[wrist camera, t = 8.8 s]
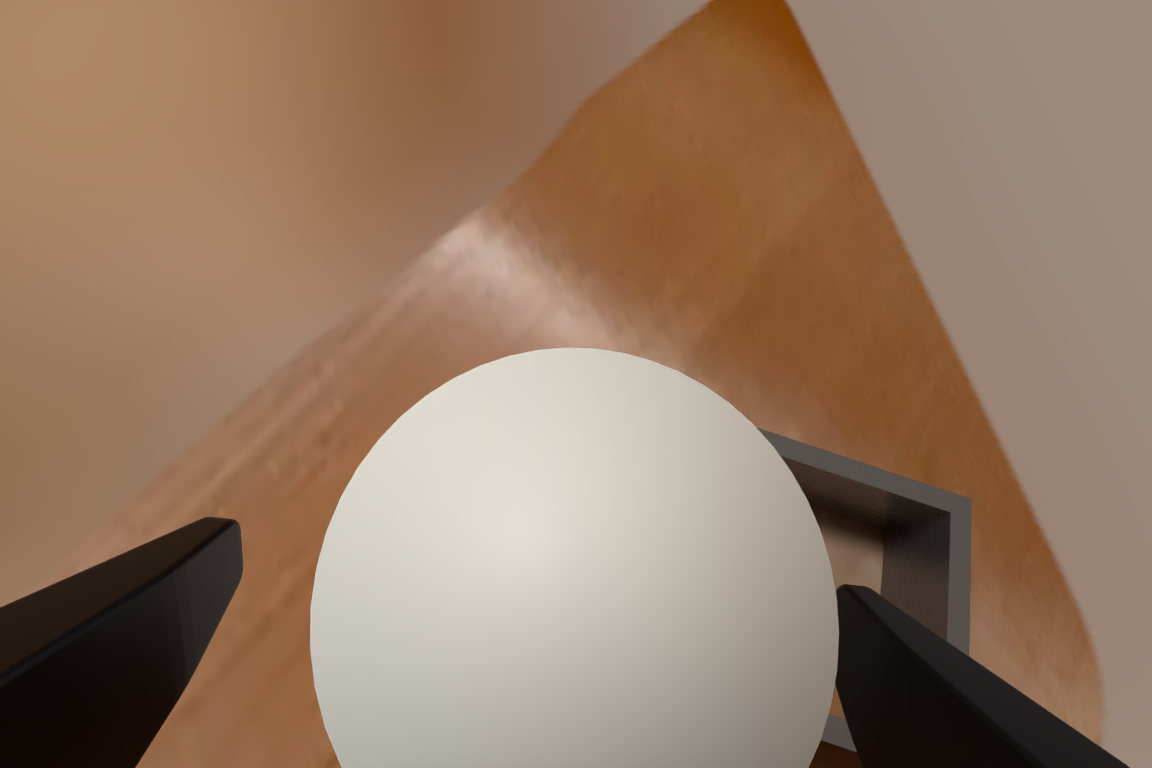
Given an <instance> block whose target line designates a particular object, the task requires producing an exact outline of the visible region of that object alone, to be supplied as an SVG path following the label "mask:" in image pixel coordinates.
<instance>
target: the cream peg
mask: <svg viewBox="0 0 1152 768" xmlns="http://www.w3.org/2000/svg"><path fill="white" fill-rule="evenodd" d="M838 644H839V624H838V609H837V596H836V591H835V585H834V580H833V574H832V569H831V564H830V560H829V557H828V553H827V550H826V547H825V543H824V540H823V537H822V534H821V530H820V528H819V526H818V523H817V521H816V519H815V516H814V514H813V512H812V509H811V507H810V505H809V502H808V500H807V498H806V496H805V495H804V493H803V491H802V489H801V488H800V486H799V484H798V482H797V481H796V479H795V477H794V475H793V473H792V472H791V470H790V469H789V468H788V466H787V465H786V463H785V462H784V461H783V459H782V458H781V457H780V455H779V454H778V452H777V451H776V450H775V448H774V447H773V446H772V444H771V443H770V442H769V441H768V440H767V439H766V438H765V437H764V436H763V435H762V433H761V432H760V431H759V430H758V429H757V428H756V427H755V426H754V425H753V423H751V422H750V421H749V420H748V419H747V418H746V417H745V416H744V415H742V414H741V413H740V412H739V411H738V410H737V409H736V408H734V407H733V406H732V405H731V404H730V403H729V402H727V401H726V400H724V399H723V398H722V397H720V396H719V395H717V394H716V393H714V392H713V391H712V390H710V389H709V388H707V387H706V386H704V385H702V384H701V383H699V382H697V381H695V380H693V379H691V378H690V377H688V376H686V375H684V374H682V373H680V372H678V371H676V370H673V369H671V368H669V367H666V366H664V365H661V364H659V363H656V362H654V361H651V360H647V359H644V358H640V357H636V356H633V355H629V354H626V353H620V352H614V351H607V350H601V349H590V348H557V349H545V350H536V351H531V352H526V353H521V354H516V355H511V356H507V357H504V358H501V359H498V360H495V361H492V362H490V363H487V364H484V365H481V366H478V367H476V368H474V369H472V370H470V371H468V372H466V373H464V374H462V375H459V376H457V377H455V378H453V379H451V380H450V381H448V382H447V383H445V384H444V385H442V386H440V387H439V388H437V389H436V390H434V391H433V392H431V393H429V394H428V395H426V396H425V397H424V398H423V399H421V400H420V401H419V402H418V403H416V404H415V405H414V406H413V407H412V408H410V409H409V410H408V411H407V412H405V413H404V414H403V415H402V416H401V417H400V418H399V419H398V420H397V421H396V422H395V423H394V424H393V425H392V426H391V427H390V428H389V429H388V430H387V431H386V432H385V434H384V435H383V436H382V437H381V438H380V439H379V440H378V441H377V442H376V444H375V445H374V446H373V448H372V449H371V450H370V452H369V453H368V455H367V456H366V457H365V459H364V460H363V461H362V463H361V464H360V465H359V467H358V468H357V470H356V472H355V473H354V475H353V477H352V479H351V480H350V482H349V484H348V486H347V487H346V489H345V491H344V493H343V495H342V496H341V498H340V500H339V503H338V505H337V508H336V510H335V512H334V515H333V517H332V520H331V522H330V524H329V527H328V529H327V532H326V535H325V539H324V542H323V546H322V549H321V553H320V557H319V560H318V564H317V568H316V574H315V581H314V588H313V595H312V601H311V621H310V650H311V659H312V667H313V676H314V685H315V690H316V694H317V698H318V702H319V706H320V710H321V714H322V718H323V722H324V725H325V729H326V731H327V734H328V736H329V739H330V741H331V743H332V746H333V748H334V751H335V753H336V756H337V758H338V761H339V763H340V765H341V768H809V766H810V763H811V761H812V759H813V757H814V754H815V752H816V750H817V748H818V746H819V743H820V741H821V737H822V734H823V731H824V727H825V724H826V721H827V717H828V714H829V711H830V708H831V703H832V697H833V691H834V685H835V680H836V674H837V665H838Z"/></svg>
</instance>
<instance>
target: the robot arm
mask: <svg viewBox="0 0 1152 768" xmlns="http://www.w3.org/2000/svg"><path fill="white" fill-rule="evenodd" d="M242 572H243V556H242V542H241V530H240V525H239V523H238V522H237V521H235V520H234V519H227V518H217V517H205V518H202V519H200V520H198V521H195V522H193V523H191V524H189V525H186V526H184V527H182V528H179V529H177V530H175V531H173V532H170V533H168V534H166V535H164V536H161V537H159V538H157V539H155V540H152V541H150V542H148V543H145V544H143V545H141V546H139V547H136V548H134V549H132V550H130V551H127V552H125V553H123V554H121V555H118V556H116V557H114V558H111V559H109V560H107V561H105V562H102V563H100V564H98V565H96V566H93V567H91V568H89V569H87V570H84V571H82V572H80V573H77V574H75V575H73V576H71V577H68V578H66V579H64V580H62V581H59V582H57V583H55V584H53V585H50V586H48V587H46V588H43V589H41V590H39V591H37V592H34V593H32V594H30V595H28V596H25V597H23V598H21V599H18V600H16V601H14V602H12V603H9V604H7V605H5V606H3V607H0V768H135V767H136V766H137V764H138V763H139V761H140V759H141V758H142V756H143V755H144V753H145V752H146V750H147V748H148V747H149V745H150V744H151V742H152V741H153V739H154V737H155V736H156V734H157V733H158V731H159V730H160V728H161V726H162V725H163V723H164V722H165V720H166V719H167V717H168V715H169V714H170V712H171V711H172V709H173V708H174V706H175V704H176V703H177V701H178V700H179V698H180V696H181V695H182V693H183V691H184V690H185V688H186V686H187V685H188V683H189V681H190V679H191V677H192V676H193V674H194V672H195V670H196V668H197V666H198V664H199V662H200V660H201V658H202V656H203V654H204V652H205V650H206V648H207V646H208V644H209V642H210V640H211V638H212V636H213V634H214V632H215V630H216V628H217V627H218V625H219V623H220V621H221V619H222V617H223V615H224V613H225V611H226V609H227V607H228V605H229V603H230V601H231V599H232V597H233V595H234V593H235V591H236V589H237V587H238V585H239V582H240V580H241V577H242ZM836 596H837V609H838V624H839V644H838V665H837V674H836V680H835V684H836V688H837V691H838V694H839V698H840V701H841V705H842V708H843V711H844V715H845V718H846V722H847V725H848V728H849V731H850V734H851V737H852V740H853V743H854V745H855V748H856V751H857V753H858V756H859V759H860V761H861V764H862V766H863V768H1129V767H1128V766H1127V765H1126V764H1124V763H1123V762H1122V761H1120V760H1119V759H1117V758H1115V757H1114V756H1113V755H1111V754H1110V753H1108V752H1107V751H1105V750H1104V749H1103V748H1101V747H1100V746H1098V745H1097V744H1095V743H1094V742H1092V741H1091V740H1090V739H1088V738H1087V737H1085V736H1084V735H1082V734H1081V733H1079V732H1078V731H1076V730H1075V729H1074V728H1072V727H1071V726H1069V725H1068V724H1066V723H1065V722H1063V721H1062V720H1061V719H1059V718H1058V717H1056V716H1055V715H1053V714H1052V713H1050V712H1049V711H1047V710H1046V709H1045V708H1043V707H1042V706H1040V705H1039V704H1037V703H1036V702H1034V701H1033V700H1031V699H1030V698H1029V697H1027V696H1026V695H1024V694H1023V693H1021V692H1020V691H1018V690H1017V689H1016V688H1014V687H1013V686H1011V685H1010V684H1008V683H1007V682H1005V681H1004V680H1002V679H1001V678H1000V677H998V676H997V675H995V674H994V673H992V672H991V671H989V670H988V669H986V668H985V667H984V666H982V665H981V664H979V663H978V662H976V661H975V660H973V659H972V658H971V657H969V656H968V655H966V654H965V653H963V652H962V651H960V650H959V649H957V648H956V647H955V646H953V645H952V644H950V643H949V642H947V641H946V640H944V639H943V638H942V637H940V636H939V635H937V634H936V633H934V632H933V631H931V630H930V629H928V628H927V627H926V626H924V625H923V624H921V623H920V622H918V621H917V620H915V619H914V618H913V617H911V616H910V615H908V614H907V613H905V612H904V611H902V610H901V609H899V608H898V607H897V606H895V605H894V604H892V603H891V602H889V601H888V600H886V599H885V598H883V597H882V596H881V595H879V594H878V593H876V592H875V591H873V590H872V589H870V588H868V587H865V586H856V585H847V584H844V585H841V586H839V587H838V588H837V590H836Z"/></svg>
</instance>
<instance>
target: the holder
mask: <svg viewBox="0 0 1152 768" xmlns="http://www.w3.org/2000/svg"><path fill="white" fill-rule="evenodd" d="M757 429H758V430H759V431H760V432H761V433H762V435H763V436H764V437H765V438H766V439H767V440H768V441H769V442H770V443H771V444H772V446H773V447H774V448H775V450H776V451H777V452H778V454H779V455H780V457H781V458H782V459H783V461H784V462H785V463H786V465H787V466H788V468H789V469H790V470H791V472H792V473H793V475H794V477H795V479H796V481H797V482H798V484H799V486H800V488H801V489H802V491H803V493H804V495H805V496H806V498H807V500H808V502H809V504H811V505H814V506H817V507H820V508H823V509H826V510H829V511H832V512H835V513H838V514H841V515H844V516H847V517H850V518H853V519H856V520H859V521H862V522H865V523H868V524H871V525H874V526H877V527H880V528H883V529H886V533H885V546H884V559H883V572H882V585H881V596H882V597H883V598H885V599H886V600H888V601H889V602H891V603H892V604H894V605H895V606H897V607H898V608H899V609H901V610H902V611H904V612H905V613H907V614H908V615H910V616H911V617H913V618H914V619H915V620H917V621H918V622H920V623H921V624H923V625H924V626H926V627H927V628H928V629H930V630H931V631H933V632H934V633H936V634H937V635H939V636H940V637H942V638H943V639H944V640H946V641H947V642H949V643H950V644H952V645H953V646H955V647H956V648H957V649H959V650H960V651H962V652H963V653H965V654H966V655H968V656H969V630H970V565H971V500H972V499H970V498H967V497H964V496H961V495H958V494H955V493H952V492H949V491H946V490H943V489H940V488H937V487H934V486H931V485H928V484H925V483H922V482H919V481H916V480H913V479H910V478H907V477H904V476H901V475H898V474H895V473H892V472H889V471H886V470H883V469H880V468H877V467H874V466H871V465H868V464H865V463H862V462H859V461H856V460H853V459H850V458H847V457H844V456H841V455H838V454H835V453H832V452H829V451H826V450H823V449H820V448H817V447H814V446H811V445H808V444H805V443H802V442H799V441H796V440H793V439H790V438H787V437H784V436H781V435H778V434H775V433H772V432H769V431H765V430H762V429H759V428H757ZM821 740H822V741H825V742H828V743H831V744H833V745H836V746H839V747H842V748H845V749H848V750H851V751H854V752H857V751H856V748H855V745H854V743H853V740H852V737H851V734H850V731H849V728H848V725H847V722H846V720H845V719H842V718H839V717H836V716H833V715H830V714H828V717H827V721H826V724H825V727H824V731H823V734H822V737H821Z"/></svg>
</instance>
